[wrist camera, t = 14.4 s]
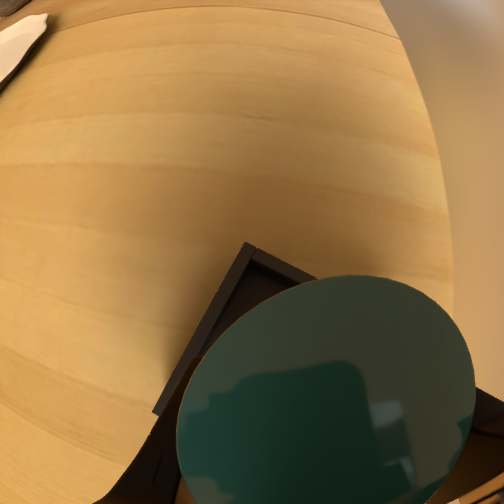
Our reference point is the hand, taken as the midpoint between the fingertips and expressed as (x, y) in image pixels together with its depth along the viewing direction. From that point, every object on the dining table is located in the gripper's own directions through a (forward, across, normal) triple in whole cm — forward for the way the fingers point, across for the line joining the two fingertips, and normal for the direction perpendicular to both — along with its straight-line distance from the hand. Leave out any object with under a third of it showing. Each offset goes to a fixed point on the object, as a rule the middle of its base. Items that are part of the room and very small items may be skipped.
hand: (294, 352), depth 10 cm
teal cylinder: (+2, 0, +4) cm, 5 cm away
